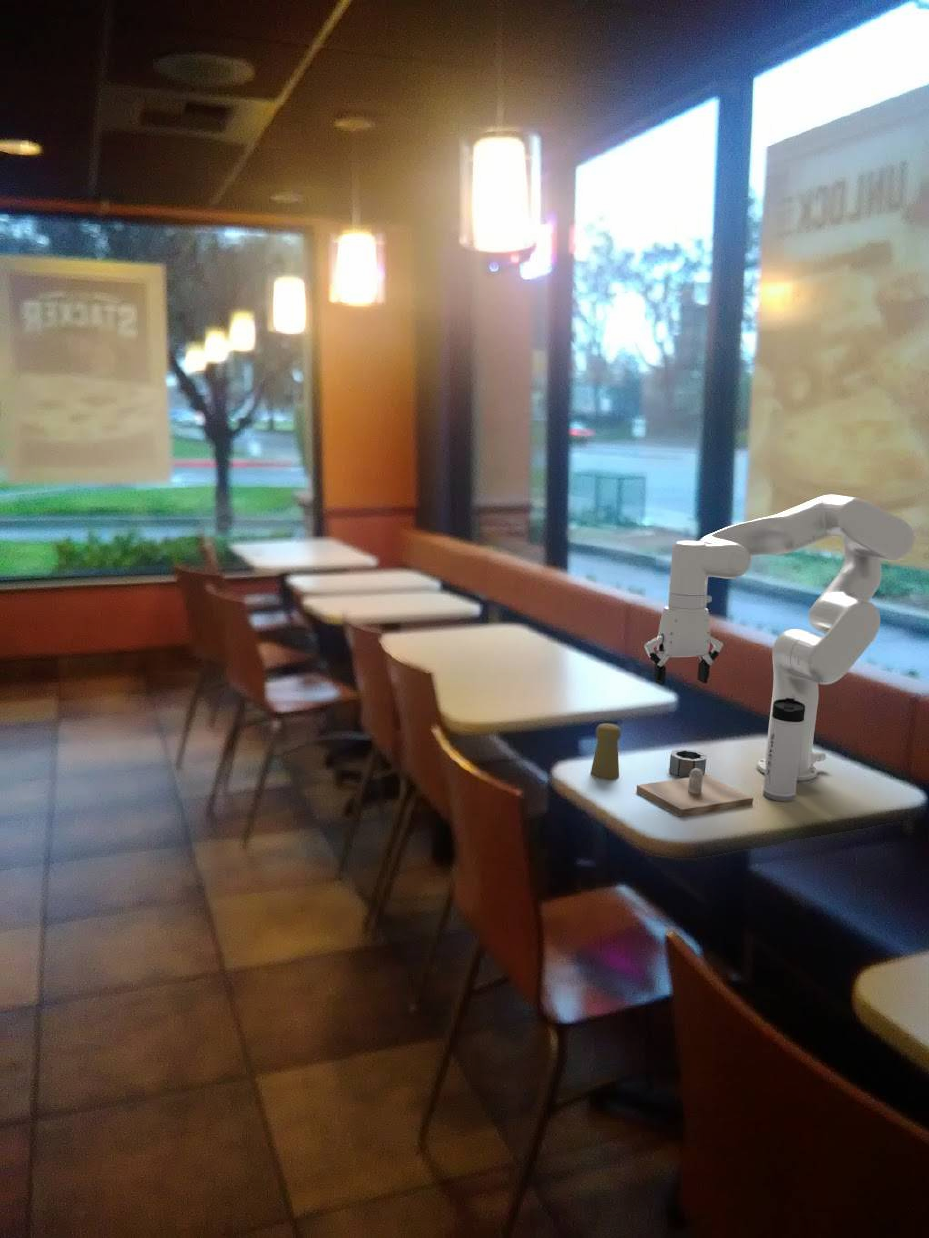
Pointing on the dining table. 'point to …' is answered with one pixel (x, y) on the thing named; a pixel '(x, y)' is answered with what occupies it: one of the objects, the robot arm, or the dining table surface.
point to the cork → (606, 752)
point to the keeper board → (694, 795)
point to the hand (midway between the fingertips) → (681, 682)
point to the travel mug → (784, 750)
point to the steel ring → (686, 762)
